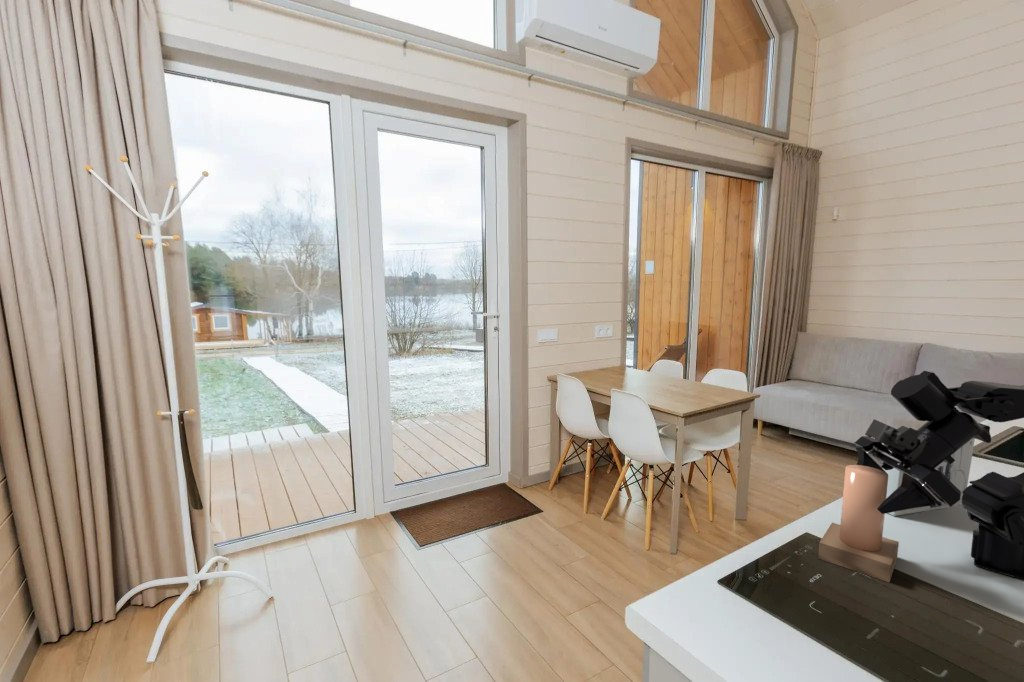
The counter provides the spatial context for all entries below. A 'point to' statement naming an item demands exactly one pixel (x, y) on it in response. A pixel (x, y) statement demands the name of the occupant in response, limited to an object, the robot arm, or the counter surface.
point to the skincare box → (953, 472)
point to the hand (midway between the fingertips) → (862, 499)
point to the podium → (859, 555)
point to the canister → (863, 507)
